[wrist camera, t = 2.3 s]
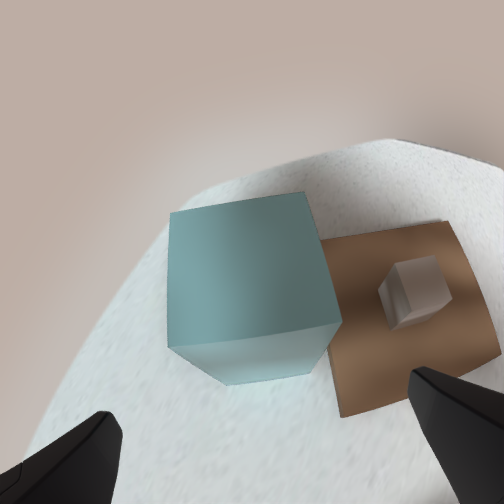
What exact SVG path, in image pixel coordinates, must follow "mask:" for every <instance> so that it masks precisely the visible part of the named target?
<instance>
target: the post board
mask: <svg viewBox="0 0 504 504" xmlns="http://www.w3.org/2000/svg"><path fill="white" fill-rule="evenodd" d="M320 242H321V245H322V249H323V252H324V255H325V259H326V262H327V266H328V269H329V273H330V276H331V280H332V283H333V287H334V291H335V294H336V298H337V302H338V306H339V309H340V313H341V317H342V321H343V322H342V324H341V325H340V327H339V328H338V330H337V332H336V333H335V335H334V337H333V338H332V340H331V341H330V343H329V345H328V346H327V351H328V356H329V360H330V365H331V370H332V375H333V380H334V385H335V390H336V396H337V401H338V407H339V412H340V418H345V417H349V416H353V415H356V414H360V413H363V412H367V411H370V410H374V409H377V408H380V407H383V406H386V405H389V404H392V403H395V402H398V401H401V400H404V399H407V398H408V395H407V388H408V383H409V377H410V372H411V371H412V370H413V369H415V368H418V367H420V366H426V367H429V368H431V369H434V370H437V371H439V372H442V373H445V374H448V375H450V376H453V377H456V378H457V377H460V376H462V375H464V374H466V373H468V372H470V371H472V370H474V369H476V368H478V367H480V366H481V365H483V364H485V363H487V362H489V361H491V360H493V359H494V358H496V357H498V356H500V355H501V354H502V353H501V349H500V346H499V342H498V339H497V335H496V332H495V329H494V326H493V323H492V320H491V317H490V314H489V311H488V308H487V305H486V303H485V300H484V297H483V295H482V292H481V290H480V287H479V285H478V282H477V280H476V277H475V275H474V273H473V271H472V268H471V266H470V264H469V262H468V259H467V257H466V255H465V253H464V251H463V249H462V247H461V245H460V243H459V241H458V239H457V237H456V235H455V233H454V231H453V229H452V227H451V225H450V223H449V222H448V221H443V222H436V223H430V224H423V225H417V226H410V227H404V228H397V229H391V230H384V231H378V232H372V233H365V234H359V235H352V236H346V237H339V238H333V239H326V240H320Z"/></svg>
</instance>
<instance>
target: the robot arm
mask: <svg viewBox="0 0 504 504" xmlns="http://www.w3.org/2000/svg"><path fill="white" fill-rule="evenodd" d="M407 395H408V398H409V400H410V402H411V405H412V407H413V410H414V412H415V414H416V417H417V419H418V422H419V424H420V427H421V429H422V431H423V434H424V435H425V437H426V439H427V441H428V443H429V445H430V447H431V448H432V450H433V452H434V454H435V456H436V458H437V459H438V461H439V463H440V465H441V467H442V469H443V471H444V473H445V475H446V477H447V479H448V480H449V482H450V484H451V486H452V488H453V490H454V492H455V494H456V496H457V498H458V500H459V503H460V504H504V394H503V393H500V392H497V391H494V390H491V389H488V388H485V387H482V386H479V385H476V384H473V383H470V382H467V381H464V380H462V379H459V378H456V377H453V376H450V375H448V374H445V373H442V372H439V371H437V370H434V369H431V368H429V367H426V366H420V367H418V368H415V369H413V370H412V371H411V372H410V377H409V383H408V388H407ZM122 437H123V433H122V429H121V427H120V426H119V424H118V422H117V421H116V419H115V417H114V415H113V414H112V413H111V412H109V411H98V412H96V413H95V414H94V415H92V416H91V417H89V418H88V419H86V420H85V421H83V422H82V423H81V424H79V425H78V426H76V427H75V428H73V429H72V430H70V431H69V432H67V433H66V434H64V435H63V436H61V437H60V438H58V439H57V440H55V441H54V442H52V443H51V444H49V445H48V446H46V447H45V448H43V449H41V450H40V451H38V452H37V453H35V454H34V455H32V456H31V457H29V458H27V459H26V460H24V461H23V463H22V462H21V463H19V464H18V465H16V466H15V467H13V468H11V469H10V470H8V471H6V472H4V473H2V474H0V504H111V501H112V497H113V492H114V488H115V483H116V479H117V474H118V468H119V459H120V452H121V444H122Z"/></svg>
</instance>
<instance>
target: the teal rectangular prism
mask: <svg viewBox="0 0 504 504" xmlns="http://www.w3.org/2000/svg"><path fill="white" fill-rule="evenodd" d="M342 322H343V321H342V317H341V313H340V309H339V306H338V302H337V298H336V294H335V291H334V287H333V283H332V280H331V276H330V273H329V269H328V266H327V262H326V259H325V255H324V252H323V249H322V245H321V242H320V239H319V236H318V232H317V229H316V226H315V223H314V220H313V217H312V214H311V210H310V207H309V204H308V201H307V198H306V195H305V192H297V193H290V194H283V195H276V196H269V197H262V198H255V199H249V200H242V201H236V202H230V203H224V204H218V205H212V206H206V207H200V208H195V209H189V210H184V211H179V212H174V213H170V225H169V245H168V275H167V337H168V348H170V349H171V350H173V351H174V352H175V353H177V354H178V355H180V356H181V357H183V358H184V359H186V360H187V361H189V362H190V363H192V364H193V365H195V366H196V367H198V368H199V369H201V370H202V371H204V372H205V373H207V374H209V375H210V376H212V377H213V378H215V379H216V380H218V381H220V382H221V383H223V384H225V385H226V386H227V385H237V384H245V383H253V382H260V381H267V380H274V379H280V378H286V377H292V376H298V375H303V374H309V373H310V372H311V371H312V369H313V368H314V366H315V365H316V363H317V362H318V360H319V359H320V357H321V356H322V354H323V352H324V351H325V349H326V348H327V346H328V345H329V343H330V341H331V340H332V338H333V337H334V335H335V333H336V332H337V330H338V328H339V327H340V325H341V324H342Z"/></svg>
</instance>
